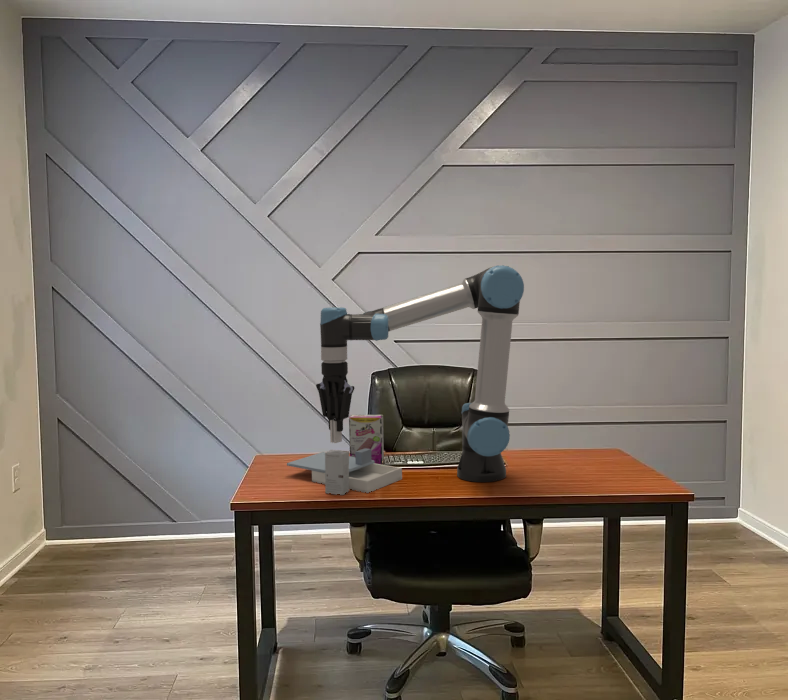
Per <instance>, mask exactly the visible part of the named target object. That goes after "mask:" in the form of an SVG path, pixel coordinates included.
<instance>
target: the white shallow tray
mask: <svg viewBox="0 0 788 700" xmlns="http://www.w3.org/2000/svg"><path fill="white" fill-rule="evenodd" d="M401 480H403V468H402V467H400V466H399V467H398V466H392V465H388V464H387V465H386V464H376V463H373V464H370V465H368V466H365V467H362V468H359V469H357V470H354V471H351V472H349V490H350V489H352V490H351V491H355V490H356V491H355V492H360V491H361V493H365V492H366V494H369V492H370V493H372V492H374V491H376V489H377V490H379V489H382V488H384V487H386V486H388V485H391V484H393V483H397V482H398V481H401ZM311 482H312V483H316V482H317V483H316V484H321V483H322V484H321V485H325V473H323V472H318V471H312V470H311ZM371 491H372V492H371Z"/></svg>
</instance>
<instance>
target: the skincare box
mask: <svg viewBox="0 0 788 700" xmlns="http://www.w3.org/2000/svg"><path fill="white" fill-rule="evenodd" d="M349 456H350V450H349V451H347V450H339V449H337V450H336V449H330V450H328V451H326V453H325V484H324V486H325V487H324V488H325V490H324V491H325V494H329V493H331V495H337V494H340V495H339V496H343V495H346V494H347V493H348V492H349V491H350V489H349ZM346 492H347V493H346ZM345 493H346V494H345Z"/></svg>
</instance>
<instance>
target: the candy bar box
mask: <svg viewBox="0 0 788 700" xmlns="http://www.w3.org/2000/svg"><path fill="white" fill-rule="evenodd" d="M348 426H349V427H348V433H349V434H348V437H349V439H348V441H349V456H350V457H355V451H358V450H361V449H364V448H367V449H371V460H374V461H375V463H376V464H382V461H383V459H384V460H385V455H384V454H385V452H384V451H385V449H384V442H385V441H384V415H383V414H350V415H349V417H348ZM382 465H383V464H382Z"/></svg>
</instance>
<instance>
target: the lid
mask: <svg viewBox="0 0 788 700" xmlns="http://www.w3.org/2000/svg"><path fill="white" fill-rule="evenodd" d="M326 452H327V451H326ZM326 452H325V451H322V452H318V453H315V454H312V455H309V456H308V455H307V456H306V457H302V458H299V459H296V460H291V461H290V462H286V466H287V467H293V468H297V469H302V470H303V469H304V470H308V471H311V472H312V471H318V472H323V473H325V453H326ZM373 463H375V461H374V460H371V449H367V448H364V449H361V450H358V451H355V457H350V455H349V472H351V471H354V470H357V469H359V468H362V467H365V466H368V465H370V464H373Z"/></svg>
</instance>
